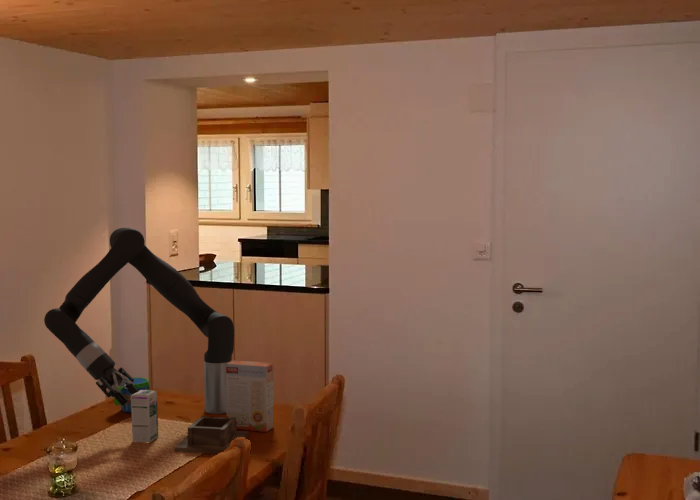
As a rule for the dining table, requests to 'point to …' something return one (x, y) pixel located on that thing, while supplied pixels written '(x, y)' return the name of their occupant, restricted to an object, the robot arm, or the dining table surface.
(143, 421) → the syrup box
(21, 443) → the dining table surface
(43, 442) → the dining table surface
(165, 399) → the dining table surface
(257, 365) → the cracker box
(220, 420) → the socket holder
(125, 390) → the snack cup
